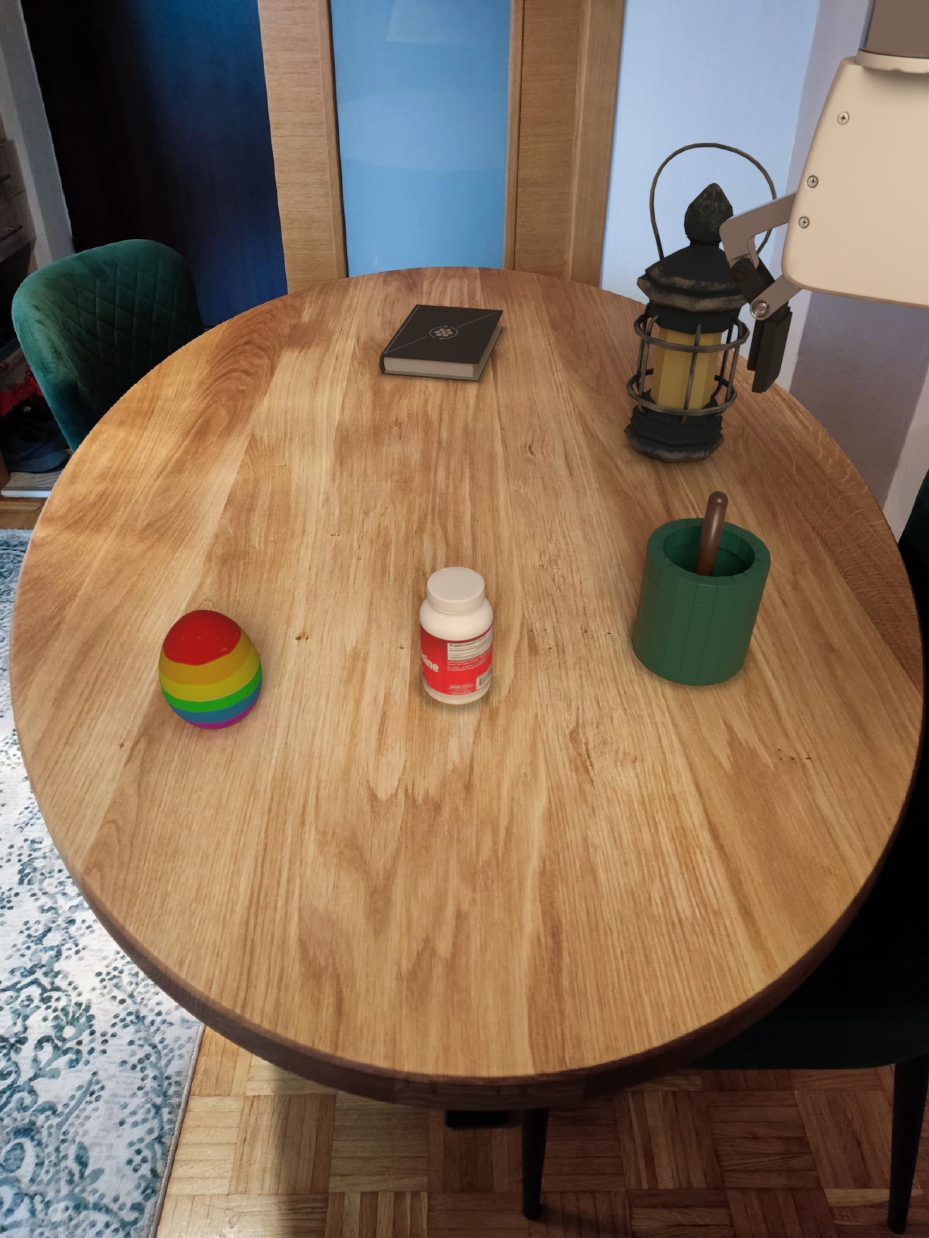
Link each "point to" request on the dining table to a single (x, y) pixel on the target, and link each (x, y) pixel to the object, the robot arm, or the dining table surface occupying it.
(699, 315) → the lantern
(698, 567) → the brown pestle
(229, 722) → the decorative egg
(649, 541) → the jar
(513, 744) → the dining table surface
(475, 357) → the book
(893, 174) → the robot arm
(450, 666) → the pill bottle
